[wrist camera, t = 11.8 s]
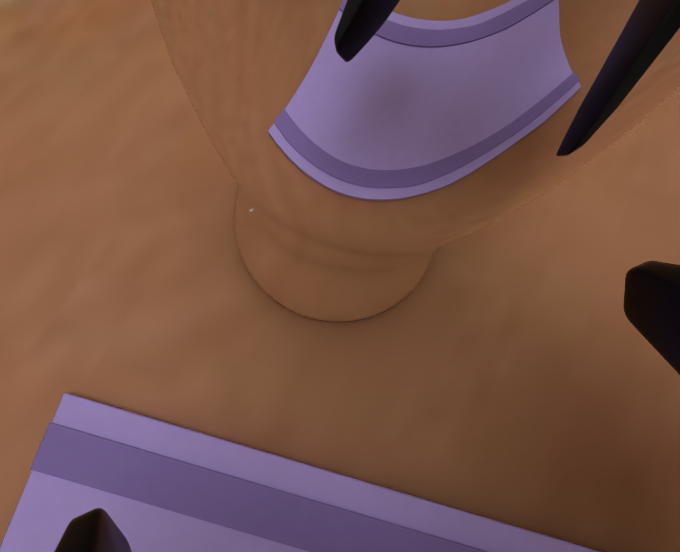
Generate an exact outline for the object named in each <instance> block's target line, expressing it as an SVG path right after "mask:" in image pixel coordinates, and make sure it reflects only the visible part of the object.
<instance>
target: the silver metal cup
mask: <svg viewBox="0 0 680 552" xmlns="http://www.w3.org/2000/svg"><path fill="white" fill-rule="evenodd" d="M151 2H152V5H153V8H154V11H155V14H156V17H157V20H158V23H159V26H160V29H161V32H162V35H163V38H164V41H165V44H166V47H167V50H168V53H169V56H170V58H171V61H172V64H173V66H174V68H175V71H176V73H177V75H178V77H179V79H180V81H181V83H182V85H183V87H184V89H185V92H186V94H187V96H188V98H189V100H190V102H191V104H192V106H193V108H194V110H195V112H196V114H197V116H198V118H199V120H200V122H201V124H202V126H203V128H204V130H205V132H206V134H207V135H208V137H209V139H210V141H211V142H212V144H213V146H214V147H215V149H216V150H217V152H218V154H219V155H220V157H221V159H222V160H223V162H224V163H225V165H226V167H227V168H228V170H229V171H230V173H231V175H232V176H233V178H234V179H235V181H236V182H237V184H238V185H239V187H240V188H239V191H238V195H237V200H236V205H235V235H236V241H237V245H238V249H239V252H240V255H241V257H242V260H243V262H244V264H245V266H246V268H247V270H248V271H249V273H250V275H251V276H252V277H253V279H254V280H255V281H256V283H257V284H258V285H259V286H260V287H261V288H262V289H263V290H264V291H265V292H266V293H267V294H268V295H270V296H271V297H272V298H273V299H274V300H276V301H277V302H278V303H280V304H281V305H283V306H285V307H286V308H288V309H290V310H292V311H294V312H296V313H298V314H301V315H304V316H307V317H310V318H314V319H318V320H324V321H337V322H338V321H353V320H359V319H364V318H367V317H370V316H373V315H376V314H379V313H381V312H383V311H385V310H387V309H389V308H391V307H392V306H394V305H395V304H397V303H398V302H399V301H401V300H402V299H403V298H404V297H405V296H407V295H408V294H409V293H410V292H411V290H412V289H413V288H414V287H415V286H416V285H417V283H418V282H419V281H420V279H421V278H422V276H423V275H424V273H425V271H426V270H427V268H428V265H429V263H430V261H431V259H432V256H433V253H434V250H435V248H437V247H440V246H442V245H445V244H447V243H449V242H452V241H454V240H456V239H459V238H461V237H463V236H465V235H468V234H470V233H472V232H474V231H477V230H479V229H481V228H483V227H485V226H487V225H489V224H491V223H493V222H495V221H497V220H499V219H501V218H502V217H504V216H506V215H508V214H509V213H511V212H513V211H515V210H517V209H518V208H520V207H522V206H524V205H525V204H527V203H529V202H531V201H533V200H534V199H536V198H538V197H540V196H541V195H543V194H545V193H547V192H548V191H550V190H551V189H553V188H554V187H556V186H557V185H559V184H560V183H562V182H563V181H564V180H566V179H567V178H568V177H570V176H571V175H572V174H573V173H575V172H576V171H577V170H579V169H580V168H581V167H583V166H584V165H585V164H587V163H588V162H589V161H591V160H592V159H593V158H595V157H596V156H597V155H598V154H600V153H601V152H602V151H604V150H605V149H606V148H608V147H609V146H610V145H612V144H613V143H614V142H616V141H617V140H618V139H620V138H621V137H622V136H623V135H625V134H626V133H627V132H629V131H630V130H631V129H632V128H633V127H635V126H636V125H637V124H638V123H639V122H640V121H641V120H642V119H644V118H645V117H646V116H647V115H648V114H649V113H650V112H651V111H652V110H654V109H655V108H656V107H657V106H658V105H659V104H660V103H661V102H663V101H664V100H665V99H666V98H667V97H668V96H669V95H670V94H671V93H673V92H674V91H675V90H676V89H677V88H678V87H679V86H680V0H151Z"/></svg>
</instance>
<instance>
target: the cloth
mask: <svg viewBox="0 0 680 552" xmlns="http://www.w3.org/2000/svg"><path fill="white" fill-rule="evenodd" d="M31 470H32V472H31V474H30V477H29V479H28V481H27V484H26V486H25V489H24V491H23V494H22V496H21V498H20V501H19V503H18V506H17V508H16V510H15V513H14V515H13V518H12V520H11V522H10V525H9V527H8V530H7V532H6V535H5V537H4V539H3V542H2V544H1V547H0V552H54V551H55V549H56V547H57V545H58V544H59V542H60V540H61V538H62V536H63V534H64V532H65V530H66V528H67V526H68V524H69V523H70V522H71V520H72V519H74V518H75V517H78V516H80V515H82V514H84V513H86V512H89V511H91V510H93V509H95V508H102V509H104V510H105V511H106V512H107V513H108V515H109V516H110V517H111V519H112V520H113V521H114V523H115V524H116V525H117V527H118V528H119V529H120V531H121V532H122V533H123V535H124V536H125V537H126V539H127V541H128V543H129V545H130V548H131V551H132V552H601V551H597V550H594V549H591V548H587V547H584V546H581V545H577V544H574V543H570V542H567V541H564V540H560V539H557V538H554V537H550V536H547V535H544V534H540V533H537V532H534V531H530V530H527V529H523V528H520V527H517V526H513V525H510V524H507V523H503V522H500V521H497V520H493V519H490V518H487V517H483V516H480V515H476V514H473V513H470V512H466V511H463V510H460V509H456V508H453V507H450V506H446V505H443V504H439V503H436V502H433V501H429V500H426V499H423V498H419V497H416V496H413V495H409V494H406V493H403V492H399V491H396V490H392V489H389V488H386V487H382V486H379V485H376V484H372V483H369V482H366V481H362V480H359V479H356V478H352V477H349V476H345V475H342V474H339V473H335V472H332V471H329V470H325V469H322V468H319V467H315V466H312V465H308V464H305V463H302V462H298V461H295V460H292V459H288V458H285V457H282V456H278V455H275V454H272V453H268V452H265V451H261V450H258V449H255V448H251V447H248V446H245V445H241V444H238V443H235V442H231V441H228V440H224V439H221V438H218V437H214V436H211V435H208V434H204V433H201V432H198V431H194V430H191V429H188V428H184V427H181V426H177V425H174V424H171V423H167V422H164V421H161V420H157V419H154V418H151V417H147V416H144V415H141V414H137V413H134V412H130V411H127V410H124V409H120V408H117V407H114V406H110V405H107V404H104V403H100V402H97V401H93V400H90V399H87V398H83V397H80V396H77V395H73V394H70V393H64V395H63V397H62V399H61V402H60V404H59V407H58V409H57V411H56V414H55V416H54V419H53V421H52V423H49V426H48V428H47V431H46V433H45V435H44V438H43V440H42V443H41V445H40V447H39V450H38V452H37V455H36V457H35V459H34V462H33V464H32V467H31Z"/></svg>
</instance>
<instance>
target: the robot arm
mask: <svg viewBox="0 0 680 552" xmlns="http://www.w3.org/2000/svg"><path fill="white" fill-rule="evenodd" d="M624 312H625V314H626V316H627V318H628V320H629V321H630V322H631V323H632V324H633V325H634V327H635V328H636V329H637V330H638V331H639V332H640V333H641V334H642V335H643V336H644V337H645V338H646V339H647V340H648V342H649V343H650V344H651V345H652V346H653V347H654V348H655V349H656V350H657V351H658V352H659V353H660V354H661V355H662V356H663V358H664V359H665V360H666V361H667V362H668V363H669V364H670V365H671V366H672V367H673V368H674V369H675V370H676V371H677V373H678V374H679V375H680V265H675V264H669V263H663V262H657V261H648V262H645V263H643V264H640V265H638V266H636V267H634V268H631V269H630V270H629V271H628V272H627V274H626V278H625V292H624ZM54 552H132V551H131V548H130V545H129V543H128V541H127V539H126V537H125V536H124V535H123V533H122V532H121V531H120V529H119V528H118V527H117V525H116V524H115V523H114V521H113V520H112V519H111V517H110V516H109V515H108V513H107V512H106V511H105V510H104V509H102V508H95V509H93V510H91V511H89V512H86V513H84V514H82V515H80V516H78V517H75V518H74V519H72V520H71V522H70V523H69V524H68V526H67V528H66V530H65V532H64V534H63V536H62V538H61V540H60V542H59V544H58V545H57V547H56V549H55V551H54Z"/></svg>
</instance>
